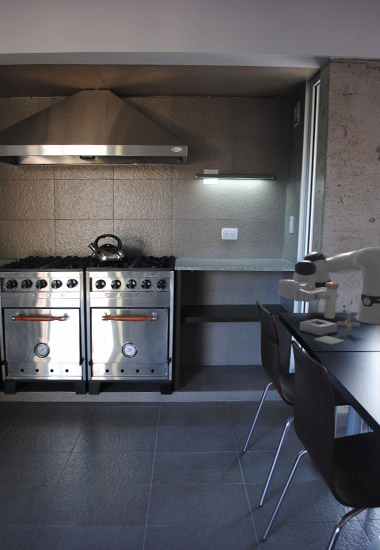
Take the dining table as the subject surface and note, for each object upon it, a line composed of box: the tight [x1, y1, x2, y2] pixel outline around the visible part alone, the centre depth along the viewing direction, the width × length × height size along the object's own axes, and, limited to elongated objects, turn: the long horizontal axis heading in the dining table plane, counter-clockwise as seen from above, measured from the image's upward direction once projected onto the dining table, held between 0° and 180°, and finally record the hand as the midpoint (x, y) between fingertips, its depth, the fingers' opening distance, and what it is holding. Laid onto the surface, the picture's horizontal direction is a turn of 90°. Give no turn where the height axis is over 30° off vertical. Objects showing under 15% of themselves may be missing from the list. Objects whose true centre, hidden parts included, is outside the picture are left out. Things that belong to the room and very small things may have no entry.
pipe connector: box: [336, 312, 361, 336], centre depth 206 cm, size 10×10×10 cm
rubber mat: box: [313, 335, 345, 346], centre depth 196 cm, size 9×9×1 cm
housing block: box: [299, 318, 338, 337], centre depth 212 cm, size 12×12×4 cm
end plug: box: [323, 281, 340, 319], centre depth 193 cm, size 5×5×15 cm
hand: (333, 296), depth 192 cm, fingers closed on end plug, 4 cm apart
